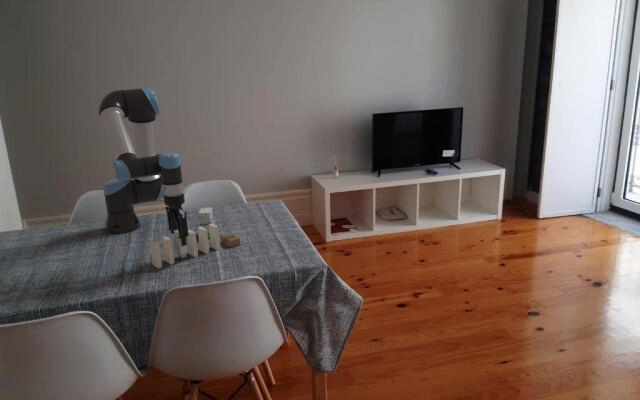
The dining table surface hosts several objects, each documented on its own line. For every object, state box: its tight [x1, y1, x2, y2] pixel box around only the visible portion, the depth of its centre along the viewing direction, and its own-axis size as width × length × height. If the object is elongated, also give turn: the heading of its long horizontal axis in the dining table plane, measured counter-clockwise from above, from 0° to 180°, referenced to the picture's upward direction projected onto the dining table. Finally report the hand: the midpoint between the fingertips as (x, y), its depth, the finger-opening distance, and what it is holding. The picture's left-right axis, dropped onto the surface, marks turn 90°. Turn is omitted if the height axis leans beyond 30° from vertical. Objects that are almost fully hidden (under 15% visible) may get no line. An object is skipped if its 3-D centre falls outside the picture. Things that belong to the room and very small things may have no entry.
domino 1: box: [149, 238, 163, 269], centre depth 191 cm, size 2×5×10 cm, turn 40°
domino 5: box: [197, 226, 210, 255], centre depth 203 cm, size 2×5×10 cm, turn 40°
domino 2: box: [161, 235, 175, 265], centre depth 194 cm, size 2×5×10 cm, turn 40°
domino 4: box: [186, 229, 199, 258], centre depth 200 cm, size 2×5×10 cm, turn 40°
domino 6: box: [209, 224, 221, 251], centre depth 206 cm, size 2×5×10 cm, turn 40°
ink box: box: [198, 207, 215, 239], centre depth 220 cm, size 9×5×12 cm, turn 5°
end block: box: [219, 232, 241, 249], centre depth 211 cm, size 9×4×3 cm, turn 40°
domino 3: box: [174, 229, 187, 258], centre depth 196 cm, size 2×5×10 cm, turn 40°
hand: (180, 250), depth 197 cm, fingers closed on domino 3, 5 cm apart
